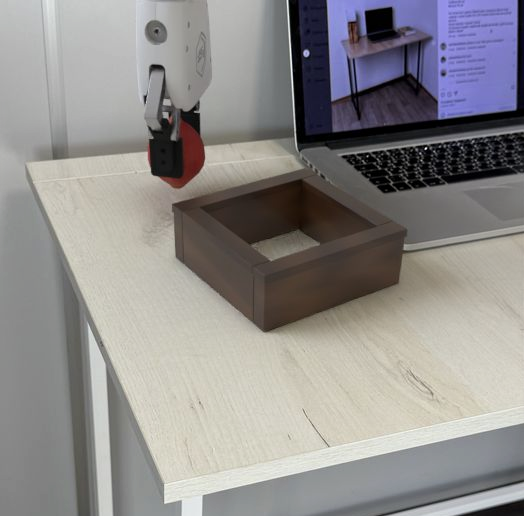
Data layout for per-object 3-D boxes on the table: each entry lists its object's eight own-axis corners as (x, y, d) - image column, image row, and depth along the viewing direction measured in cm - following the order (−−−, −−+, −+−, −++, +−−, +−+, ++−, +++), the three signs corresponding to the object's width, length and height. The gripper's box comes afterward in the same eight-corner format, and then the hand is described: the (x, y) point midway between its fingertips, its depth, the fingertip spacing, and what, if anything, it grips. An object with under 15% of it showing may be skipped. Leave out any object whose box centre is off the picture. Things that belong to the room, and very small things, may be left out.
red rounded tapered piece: (141, 181, 92) (136, 107, 87) (192, 172, 94) (189, 98, 89) (162, 204, 88) (158, 127, 83) (214, 193, 90) (213, 117, 85)
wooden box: (302, 218, 88) (305, 167, 85) (401, 283, 78) (408, 228, 75) (173, 256, 81) (171, 203, 78) (263, 333, 72) (265, 276, 68)
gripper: (184, 0, 71) (191, 203, 82) (231, -45, 85) (231, 134, 96) (96, -6, 72) (113, 195, 83) (156, -49, 86) (164, 128, 97)
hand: (176, 160), depth 89 cm, fingers closed on red rounded tapered piece, 6 cm apart
